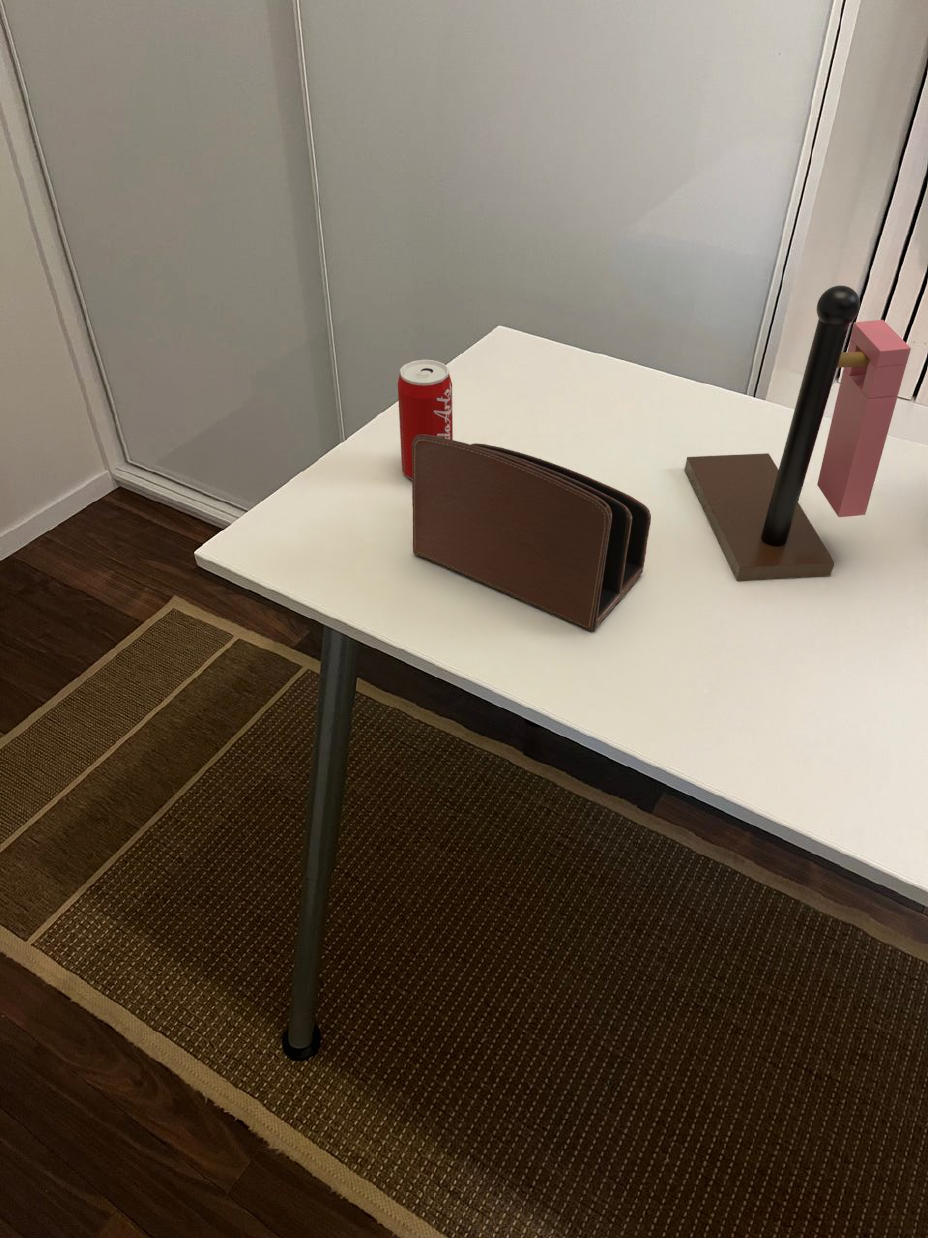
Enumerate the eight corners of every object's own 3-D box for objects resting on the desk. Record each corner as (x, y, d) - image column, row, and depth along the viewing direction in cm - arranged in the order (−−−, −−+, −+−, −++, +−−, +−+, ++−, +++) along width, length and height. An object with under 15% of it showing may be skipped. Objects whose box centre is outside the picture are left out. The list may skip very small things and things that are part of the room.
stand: (788, 464, 102) (856, 217, 85) (857, 574, 88) (955, 305, 71) (684, 469, 102) (730, 220, 84) (736, 581, 88) (805, 310, 70)
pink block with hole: (842, 482, 89) (883, 319, 78) (865, 515, 85) (911, 348, 74) (816, 484, 89) (853, 321, 78) (838, 517, 85) (880, 350, 74)
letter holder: (593, 634, 82) (610, 501, 73) (411, 555, 90) (405, 426, 81) (644, 574, 88) (665, 444, 79) (469, 505, 97) (469, 380, 87)
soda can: (441, 489, 99) (439, 385, 91) (393, 479, 100) (387, 376, 92) (460, 462, 103) (459, 360, 95) (413, 453, 104) (409, 352, 96)
